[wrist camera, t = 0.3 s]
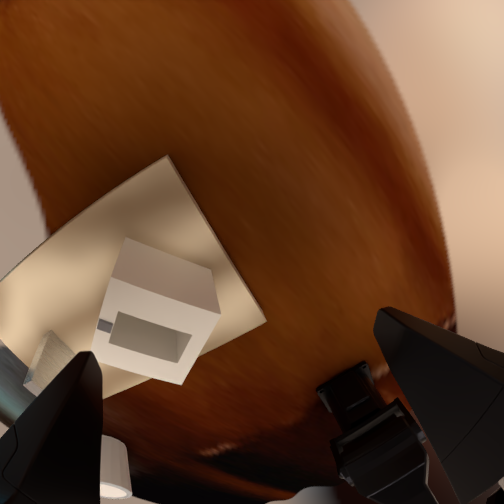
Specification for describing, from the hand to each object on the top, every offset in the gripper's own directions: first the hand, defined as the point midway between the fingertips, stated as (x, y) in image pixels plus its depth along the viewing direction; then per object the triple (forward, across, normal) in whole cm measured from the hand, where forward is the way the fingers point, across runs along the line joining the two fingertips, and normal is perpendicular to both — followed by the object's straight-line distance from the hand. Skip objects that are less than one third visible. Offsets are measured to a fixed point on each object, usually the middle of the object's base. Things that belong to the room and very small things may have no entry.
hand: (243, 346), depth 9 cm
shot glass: (+13, +16, +28) cm, 35 cm away
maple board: (+13, +9, +7) cm, 17 cm away
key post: (+11, +13, +9) cm, 19 cm away
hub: (+11, +4, +5) cm, 13 cm away
